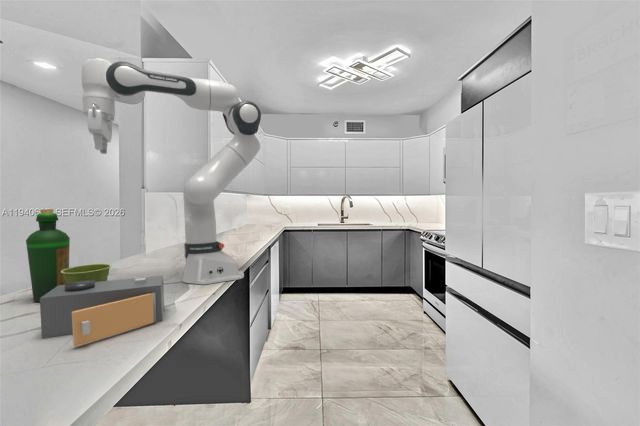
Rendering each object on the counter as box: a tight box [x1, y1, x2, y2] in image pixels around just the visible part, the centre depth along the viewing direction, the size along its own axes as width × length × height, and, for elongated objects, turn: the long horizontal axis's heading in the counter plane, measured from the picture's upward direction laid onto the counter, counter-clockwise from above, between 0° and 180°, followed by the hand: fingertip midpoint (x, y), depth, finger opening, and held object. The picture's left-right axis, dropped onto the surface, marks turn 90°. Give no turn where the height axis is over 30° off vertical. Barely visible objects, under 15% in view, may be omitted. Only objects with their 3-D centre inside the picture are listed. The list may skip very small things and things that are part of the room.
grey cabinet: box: [39, 275, 165, 339], centre depth 83 cm, size 24×12×10 cm, turn 113°
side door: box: [72, 293, 157, 347], centre depth 74 cm, size 17×2×7 cm, turn 143°
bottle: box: [25, 208, 71, 303], centre depth 103 cm, size 11×11×28 cm
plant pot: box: [61, 263, 112, 284], centre depth 94 cm, size 12×12×11 cm
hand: (101, 151), depth 110 cm, fingers open, 8 cm apart
